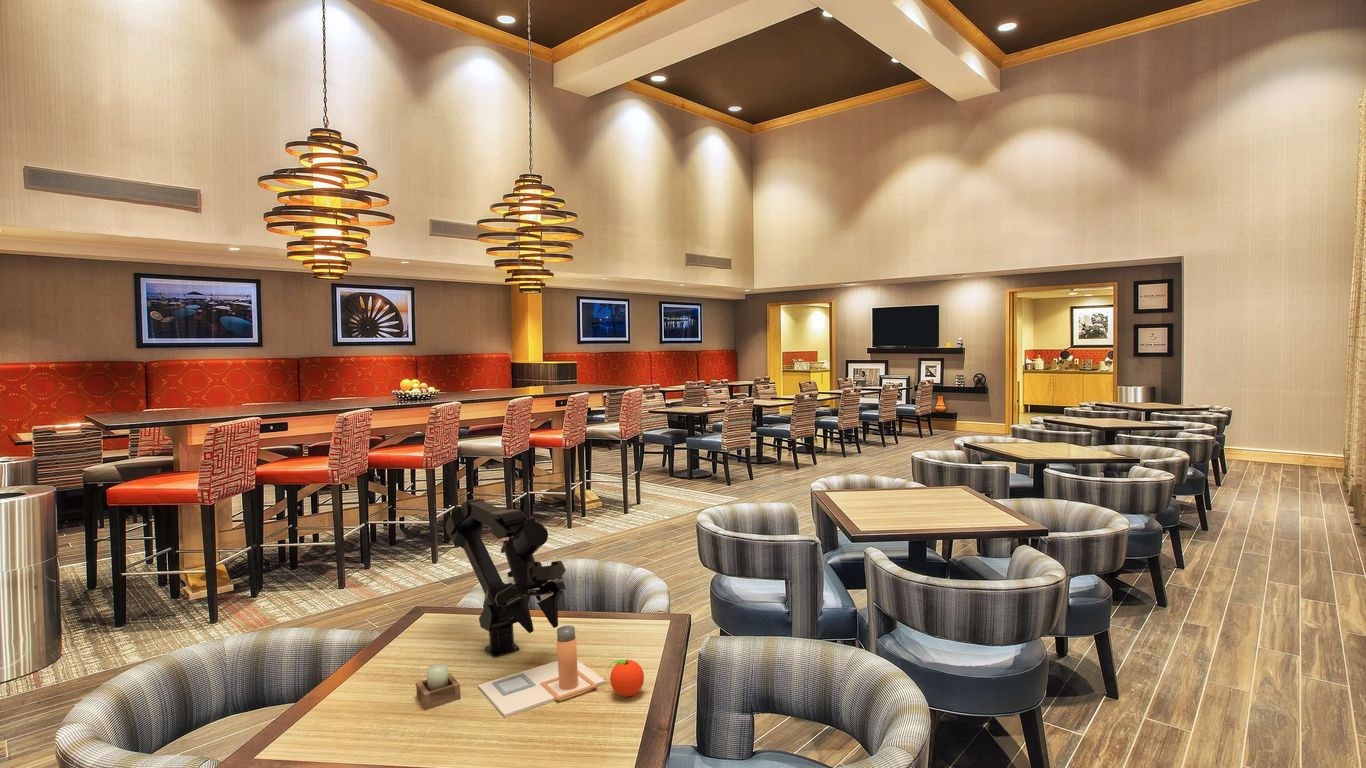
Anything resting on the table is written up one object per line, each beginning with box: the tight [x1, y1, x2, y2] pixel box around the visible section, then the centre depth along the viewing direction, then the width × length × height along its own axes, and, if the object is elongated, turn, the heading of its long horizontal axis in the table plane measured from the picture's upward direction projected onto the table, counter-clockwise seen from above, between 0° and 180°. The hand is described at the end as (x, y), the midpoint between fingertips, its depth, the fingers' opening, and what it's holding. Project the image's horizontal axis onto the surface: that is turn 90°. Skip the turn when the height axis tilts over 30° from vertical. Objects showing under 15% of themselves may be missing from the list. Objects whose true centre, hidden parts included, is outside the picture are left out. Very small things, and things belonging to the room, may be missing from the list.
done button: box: [426, 663, 448, 691], centre depth 142 cm, size 4×4×4 cm
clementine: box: [607, 659, 645, 698], centre depth 139 cm, size 8×7×7 cm
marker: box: [556, 625, 578, 690], centre depth 143 cm, size 4×4×12 cm
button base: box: [415, 672, 461, 710], centre depth 142 cm, size 7×7×3 cm
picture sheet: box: [477, 659, 606, 718], centre depth 144 cm, size 18×22×1 cm
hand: (544, 629), depth 150 cm, fingers open, 9 cm apart
